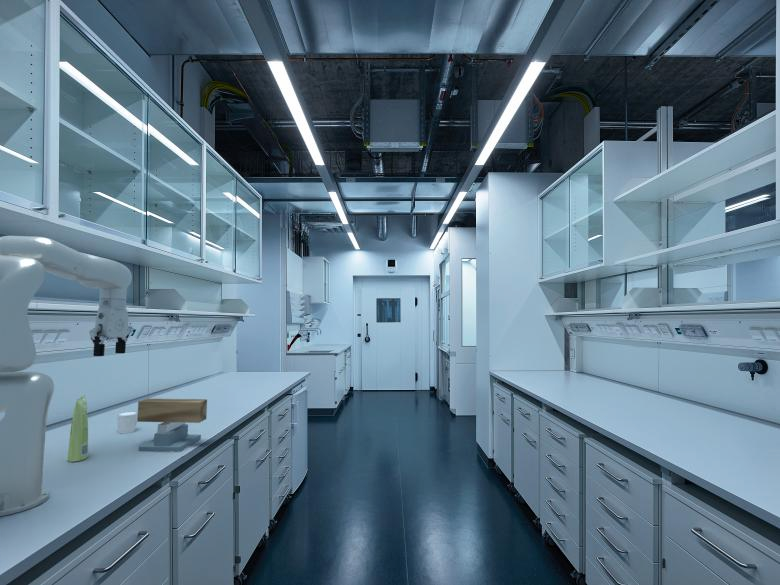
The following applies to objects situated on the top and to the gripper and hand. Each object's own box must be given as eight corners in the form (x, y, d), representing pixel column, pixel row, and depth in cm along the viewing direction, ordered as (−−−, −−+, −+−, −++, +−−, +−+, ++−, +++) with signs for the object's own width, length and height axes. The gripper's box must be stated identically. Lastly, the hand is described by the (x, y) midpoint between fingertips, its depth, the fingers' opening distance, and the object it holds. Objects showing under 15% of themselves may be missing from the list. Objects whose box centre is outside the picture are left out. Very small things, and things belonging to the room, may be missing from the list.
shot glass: (111, 433, 148) (112, 415, 148) (127, 428, 154) (128, 410, 155) (126, 434, 146) (127, 416, 147) (141, 429, 153) (142, 412, 153)
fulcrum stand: (179, 451, 129) (180, 426, 129) (138, 451, 129) (139, 425, 130) (200, 438, 143) (201, 415, 143) (163, 438, 143) (164, 414, 144)
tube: (62, 460, 120) (66, 397, 121) (81, 455, 125) (85, 394, 126) (73, 463, 118) (77, 399, 119) (91, 458, 122) (95, 396, 124)
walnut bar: (199, 422, 134) (200, 402, 134) (137, 421, 134) (138, 401, 135) (206, 418, 139) (207, 399, 139) (146, 417, 139) (147, 398, 140)
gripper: (104, 303, 123) (101, 357, 122) (140, 305, 140) (137, 352, 139) (81, 303, 123) (77, 357, 122) (120, 305, 140) (117, 352, 139)
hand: (109, 354), depth 130 cm, fingers open, 9 cm apart
